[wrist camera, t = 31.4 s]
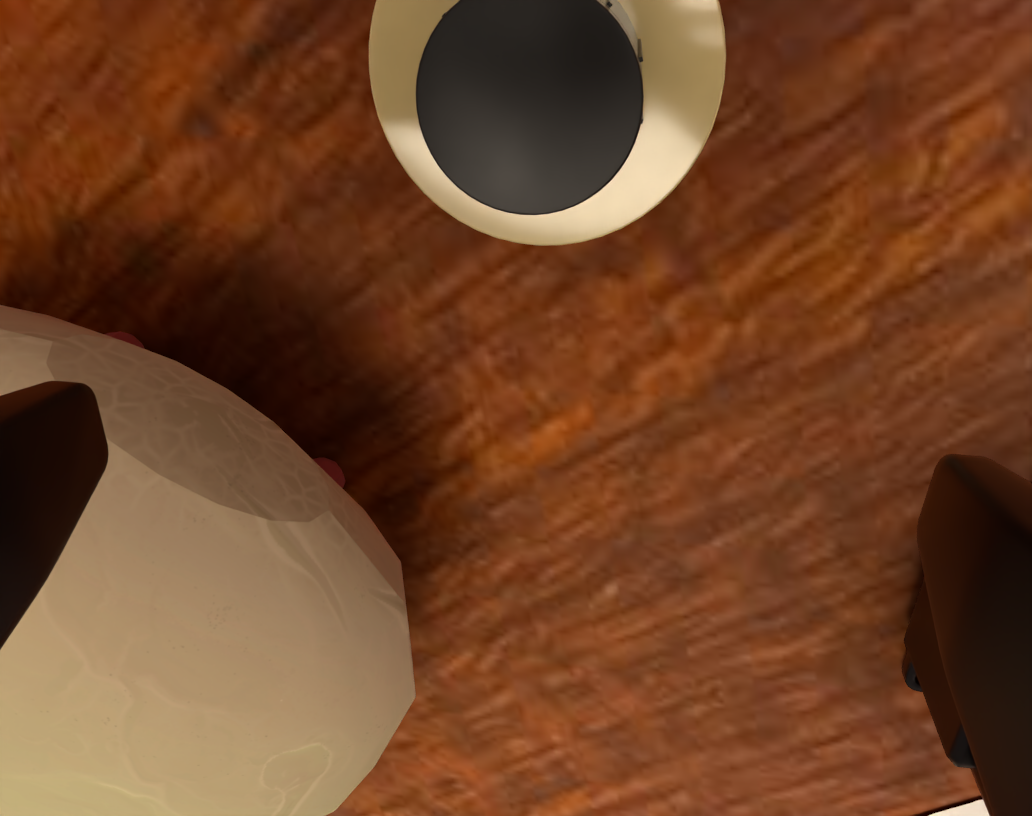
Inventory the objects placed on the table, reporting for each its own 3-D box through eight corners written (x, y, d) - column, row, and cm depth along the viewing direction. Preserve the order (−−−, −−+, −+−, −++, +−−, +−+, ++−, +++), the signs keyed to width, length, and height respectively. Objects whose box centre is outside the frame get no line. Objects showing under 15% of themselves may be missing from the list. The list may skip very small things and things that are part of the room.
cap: (677, 102, 17) (686, 139, 15) (518, 205, 19) (499, 255, 16) (573, -81, 16) (562, -79, 13) (409, 44, 17) (369, 69, 15)
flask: (562, 469, 23) (269, 772, 32) (-3, 93, 20) (-151, 550, 29) (511, 782, 15) (143, 1066, 24) (-441, 244, 12) (-454, 806, 21)
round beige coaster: (747, -132, 16) (752, -134, 15) (700, 243, 20) (702, 255, 19) (365, -137, 17) (353, -139, 16) (387, 227, 20) (379, 238, 20)
